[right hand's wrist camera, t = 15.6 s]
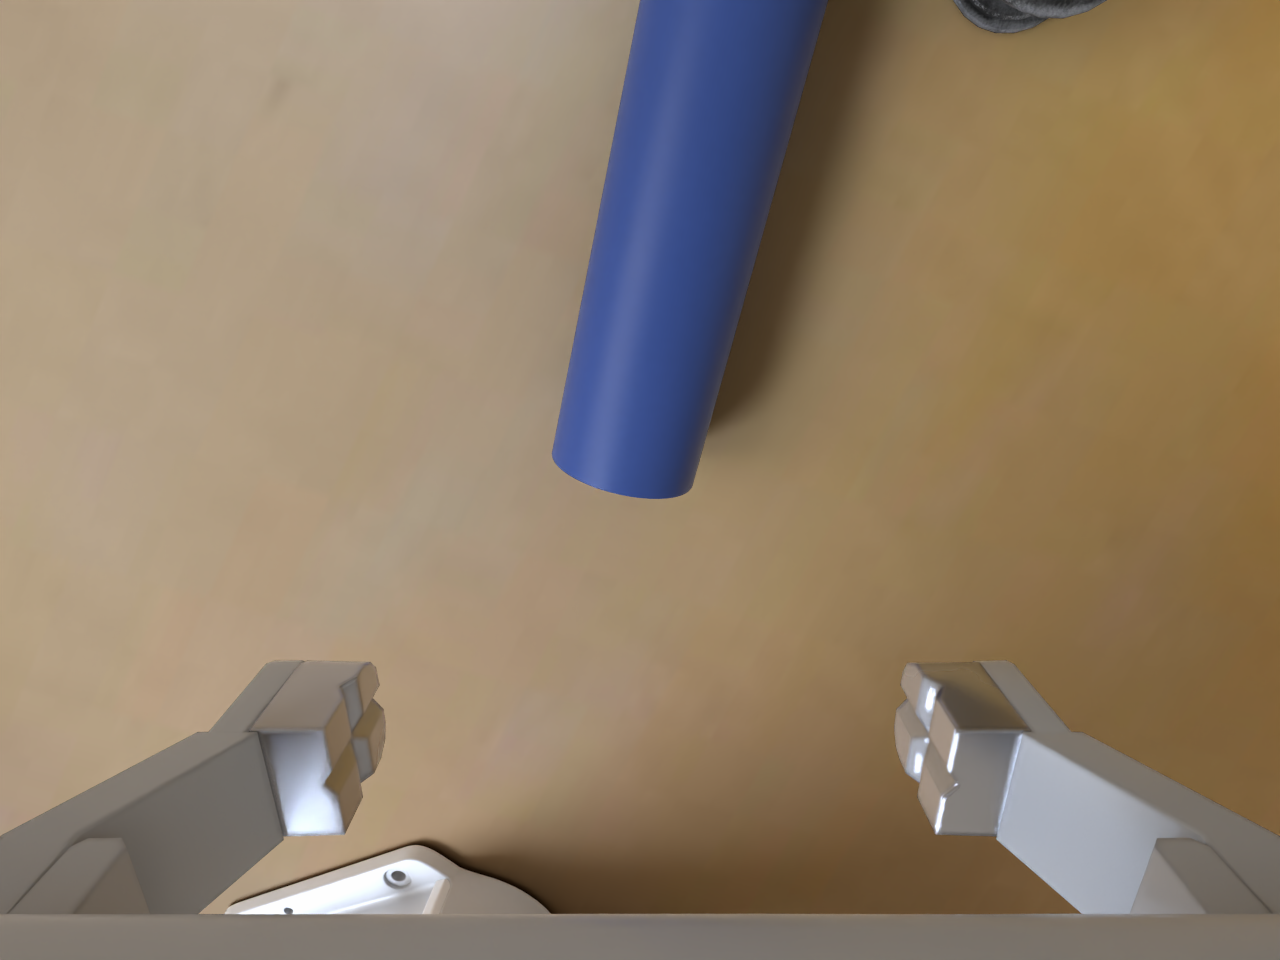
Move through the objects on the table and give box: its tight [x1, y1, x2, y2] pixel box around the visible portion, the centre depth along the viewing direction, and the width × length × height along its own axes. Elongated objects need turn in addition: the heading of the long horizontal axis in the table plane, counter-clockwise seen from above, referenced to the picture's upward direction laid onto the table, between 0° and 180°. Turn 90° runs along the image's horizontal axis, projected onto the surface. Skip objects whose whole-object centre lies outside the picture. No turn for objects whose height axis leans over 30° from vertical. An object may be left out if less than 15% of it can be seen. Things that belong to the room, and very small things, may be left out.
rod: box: [552, 0, 828, 499], centre depth 25 cm, size 23×6×6 cm, turn 167°
